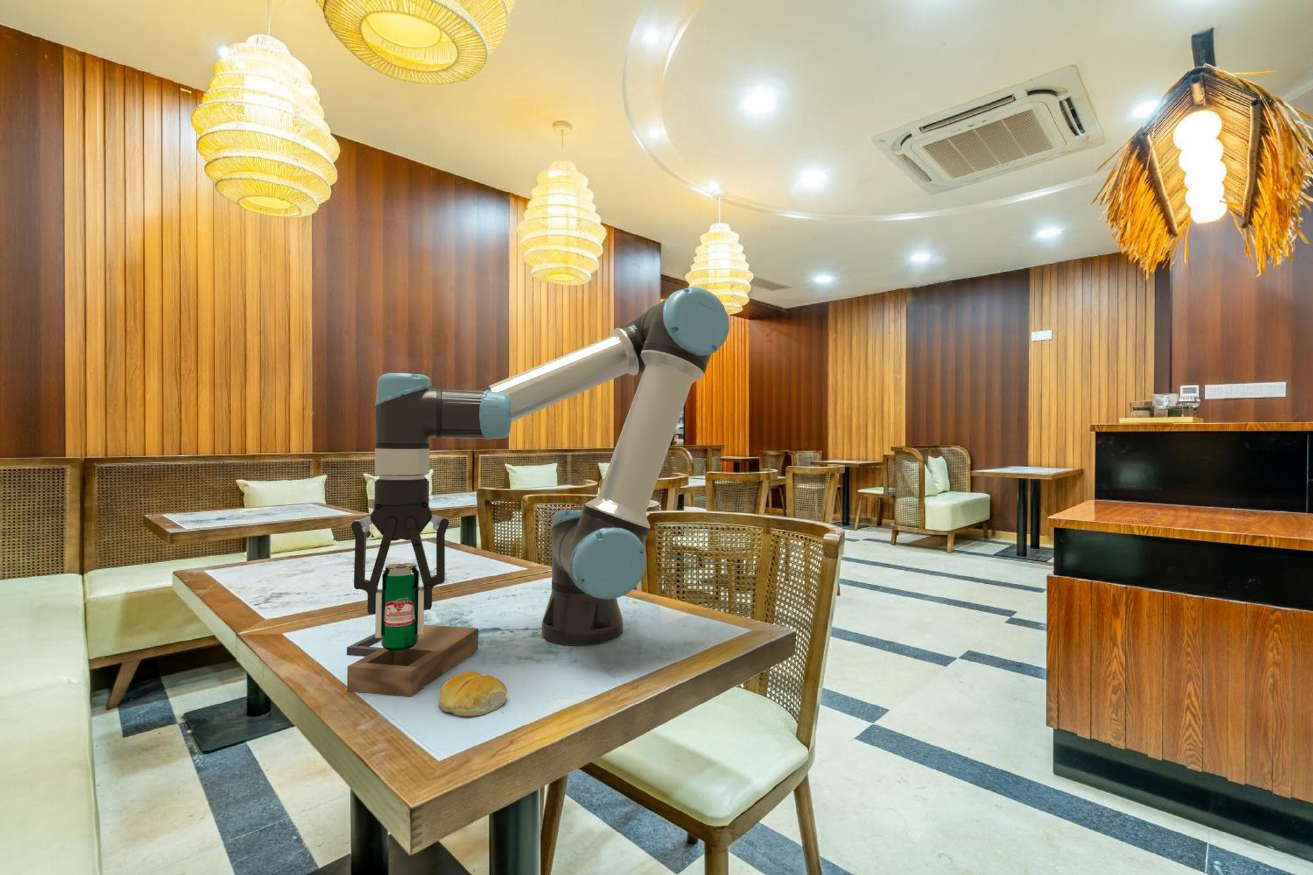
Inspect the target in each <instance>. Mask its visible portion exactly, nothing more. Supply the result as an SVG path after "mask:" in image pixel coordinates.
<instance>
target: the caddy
mask: <svg viewBox="0 0 1313 875" xmlns="http://www.w3.org/2000/svg"><path fill="white" fill-rule="evenodd" d="M380 648H381V649H379V650H377V651H375V652H373V653H371V654H370V655H368V656H363V658H361V659H359V660H357V661H355V662H352V663H351V664H349V665H347V670H346V671H347V676H346V677H347V678H346V679H347V680H346V681H347V685H346V689H347V690H346V691H347V692H355V693H367V694H376V695H388V696H400V697H410V698H411V697H413V696H414V695H416V694H417V693H419V692H420V691H421V690H423V689H424V688H426V687H427V686H429V684H431V683H432V682H434V681H435V680H437V679H438V678H439V677H441V676H442V675H443V674H445V673H447V672H448V671H449V670H451V669H452V668H453V667H455V666H457V664H459V663H460V662H462V661H463V660H465V659H466V658H467V657H468V656H470V655H472V654H474V652H475V651H477V650H478V649H479V628H478V627H477V628H476V627H465V626H463V627H462V626H452V625H451V626H449V625H435V624H434V625H433V624H424V630H423V634H418V642H417V643H416V644H415V646H413V647H412V648H409V649H406V650H400V651H390V650H386V649H385V648H384V647H383V646H382V647H380Z"/></svg>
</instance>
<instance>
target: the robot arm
mask: <svg viewBox="0 0 1313 875" xmlns="http://www.w3.org/2000/svg"><path fill="white" fill-rule="evenodd" d="M729 332H730V318H729V314H728V312H727V311H726V308H725V305H724V304H723V302H722V301H721V300H720V298H718V297H717V296H716V295H715V293H713V292H711V291H709V290H708V289H705V288H702V287H698V286H697V287H696V286H695V287H686V288H683V289H679V290H676V291H674V292H673V293H671V294H670V295H669V296H668V297H666V298H665V299H664V300H662V301H660V302H658V303H657V304H655V305H653V306H652V307H650V308H648V310H647V311H645V312H643V313H642V314H641V315H639V316H638V317H636V318H635V319H632V320H631V321H629V322H628V323H625V324H624V325H622V326H619V327H617V328H614V329H613V332H612V335H611V336H609V337H605V338H603V339H601V340H599V341H596V342H594V343H592V344H589V345H586V346H584V347H582V348H579V349H576V350H574V351H572V352H569V353H566V354H565V355H562V356H559V357H556V358H555V359H551V360H549V361H547V362H544V363H542V364H540V365H537V366H534V367H532V368H530V369H528V370H525V371H522V372H520V373H518V374H515V375H513V376H509V377H507V378H505V379H503V380H500V381H497V382H495V383H492V384H489V385H488V386H485V387H483V388H480V389H478V390H474V389H471V390H470V389H467V390H466V389H464V390H463V389H442V388H441V389H439V388H437V387H436V388H433V386H432V383H431V378H430V377H429V376H427V375H424V374H419V373H417V374H416V373H409V372H408V373H407V372H406V373H405V372H388V373H384V374H382V375H380V376H379V377H378V379H377V381H376V383H377V384H376V385H377V386H376V397H375V398H376V399H375V404H374V408H375V410H374V411H375V412H374V413H375V417H374V418H375V419H374V420H375V448H374V474H375V475H376V476H378V477H379V478H377V479H375V481H374V498H373V499H374V502H373V503H374V505H373V510H372V512H371V514H370V516H367V517H364V518H361V519H359V518H357V519H355V520H353V522H352V523H351V524H350V525H351V526H350V528H351V530H352V532H353V535H354V537H355V538H354V566H353V588H354V589H355V590H362V591H364V592H365V593H366V594H367V606H366V607H367V610H366V611H367V613H368V614H367V615H375V630H374V631H375V632H374V634H375V638H381V636H382V588H379V584H380V580H381V578H382V574H383V569H384V566H385V563H386V560H387V557H388V553H389V551H390V546H391V543H392V542H396V541H399V540H403V541H410V543H411V546H412V548H413V552H414V555H415V559H416V563H417V564H416V565H417V567H418V571H419V576H420V578H421V581H422V586H420V585H419V590H418V634H423V630H424V625H425V623H424V622H425V620H424V619H425V617H424V616H425V611H428V610H431V609H432V606H433V589H434V587H436V586H439V585H442V584H444V583H445V580H446V575H445V574H446V554H445V553H446V552H445V551H446V548H445V547H446V543H445V542H446V540H445V539H446V536H445V534H446V532H447V529H448V527H449V524H450V521H449V518H448V517H447V516H439V515H436V514H433V512H432V510H431V508H430V480H429V479H428V478H426V476H428V475H429V474H430V452H431V450H430V447H431V446H430V445H431V444H430V441H431V439H433V438H434V439H435V438H436V439H463V440H467V441H470V440H476V439H479V440H481V439H482V440H487V441H488V440H493V439H494V440H498V439H506V438H508V437H509V435H510V433H511V428H512V423H513V422H516V421H518V420H520V419H522V418H526V417H527V416H530V415H532V414H534V413H536V412H539V411H541V410H543V409H546V408H549V407H551V406H553V405H556V404H558V403H560V402H563V401H564V400H565V401H566V400H567V399H569V398H572V397H573V396H576V395H578V394H581V393H584V392H585V391H589V390H591V389H593V388H595V387H598V386H600V385H602V384H604V383H607V382H610V381H612V380H614V379H616V378H618V377H619V378H620V377H621V376H623V375H624V376H625V375H627V374H629V375H631V376H637V375H639V374H641V373H642V374H641V377H640V380H639V383H638V385H637V388H636V391H635V394H634V397H633V399H632V402H631V404H630V408H629V410H628V413H627V416H626V418H625V421H624V423H623V426H622V430H621V432H620V435H619V437H618V439H617V443H616V445H615V448H614V451H613V454H612V456H611V459H610V462H609V465H608V467H607V471H606V473H605V475H604V478H603V481H602V484H601V486H600V489H599V492H598V494H597V495H596V497H595V498H594V499H592V500H590V501H589V500H588V501H587V502H585V504H584V507H583V509H574V510H573V509H572V510H558V511H556V512H555V513H554V514H553V516H552V523H551V524H552V525H551V527H550V529H551V593H550V597H549V599H548V602H547V606H546V609H545V611H544V615H543V617H542V620H541V636H542V638H544V639H545V640H547V641H548V642H552V643H555V644H560V645H568V646H591V645H598V644H604V643H608V642H611V641H613V640H616V639H618V638H620V637H621V636H622V635H623V633H624V619H623V616H622V612H621V609H620V605H619V602H618V599H619V598H621V597H623V596H625V595H627V594H629V593H630V592H632V591H633V590H635V588H636V587H637V586H638V585H639V584H640V582H641V581H642V578H643V577H644V574H645V572H646V568H647V553H646V549H645V543H646V540H647V538H648V535H649V531H650V529H651V525H650V522H649V520H648V518H647V510H648V507H649V506H650V503H651V499H652V496H653V493H654V491H655V489H656V486H657V482H658V480H659V477H660V475H661V474H660V473H661V471H662V468H663V465H664V464H665V463H664V462H665V459H666V456H667V454H668V451H669V448H670V447H671V443H672V440H673V437H674V435H675V432H676V429H677V427H678V423H679V421H680V418H681V415H682V412H683V410H684V407H685V404H686V401H687V398H688V395H689V394H690V389H691V386H692V384H693V383H695V382H697V381H699V380H702V379H703V378H704V376H705V374H706V371H707V368H708V365H709V363H710V360H711V357H712V355H713V354H714V353H717V352H718V351H719V350H720V349H721V347H723V345H724V344H725V342H726V341H727V339H728V336H729ZM430 522H431V523H432V530H434V531H436V535H435V542H436V543H435V544H436V546H435V550H436V552H435V553H436V556H435V557H436V559H435V560H436V563H435V564H436V565H435V566H436V568H435V569H436V570H435V575H433V576H432V575H431V571H430V568H429V567H430V566H429V563H428V560H427V557H426V553H425V548H424V545H423V542H422V541H423V540H422V537H421V533H422V532H423V531H424V529H425V528H426V527H427V526H428V524H429V523H430ZM371 524H373V526H374V527H375V528H376V529H377V531H378V532H379V533H380V535H381V536H382V538H381V542H380V545H379V548H378V552H377V555H376V558H375V562H374V566H373V569H372V571H371V576H370V579H369V580H368V579H366V561H367V560H366V557H367V556H366V555H367V533H368V532H369V531H370V527H371V526H370V525H371Z"/></svg>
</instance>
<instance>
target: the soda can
mask: <svg viewBox="0 0 1313 875" xmlns="http://www.w3.org/2000/svg"><path fill="white" fill-rule="evenodd" d="M417 567H418V564H416V563H410V562H408V563H407V562H402V563H398V562H397V563H393V564H389V565H386V566H385V568H384V569H385V570H384V572H382V574H381V579H382V580H381V581H382V582H381V586H382V588H381V589H382V637H381V640H380V642H381V646H382V648H383V647H384V648H385V649H386V650H390V651H400V650H406V649H409V648H412V647H413V646H415V644H416V643H417V642H418V590H419V586H420V571H419V569H418V568H417Z"/></svg>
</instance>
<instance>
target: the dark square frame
mask: <svg viewBox="0 0 1313 875" xmlns="http://www.w3.org/2000/svg"><path fill="white" fill-rule="evenodd" d="M381 637H382V636H381ZM378 642H381V638H375V633H373V634H371V635H369V636H368V637H365V638H363V639H360V640H359V641H357V642H354V643H353V644H351V645H348V646H346V655H349V656H362V657H366V656H368V655H370V654H371V653H373V652H375V651H377V650H379V649H381V648H382V647H376V646H373V645H374V644H376V643H378Z"/></svg>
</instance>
